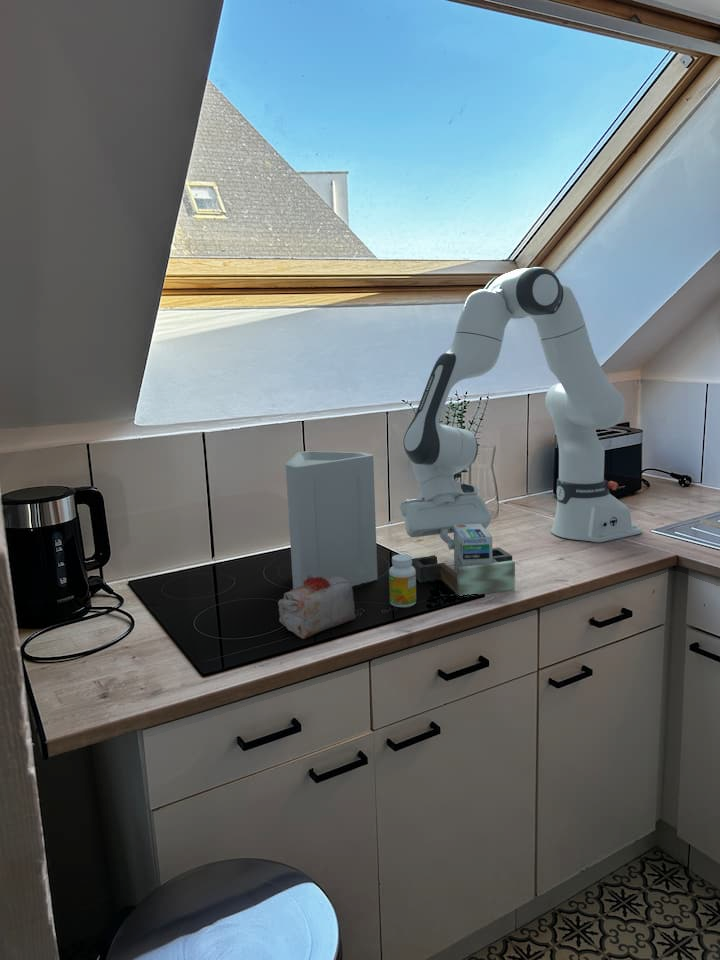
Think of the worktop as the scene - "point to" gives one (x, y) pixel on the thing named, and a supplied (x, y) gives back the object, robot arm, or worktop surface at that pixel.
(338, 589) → the food item
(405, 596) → the supplement bottle
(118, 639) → the worktop surface
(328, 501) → the grey triangular bin
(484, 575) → the box
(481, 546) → the light bulb box
